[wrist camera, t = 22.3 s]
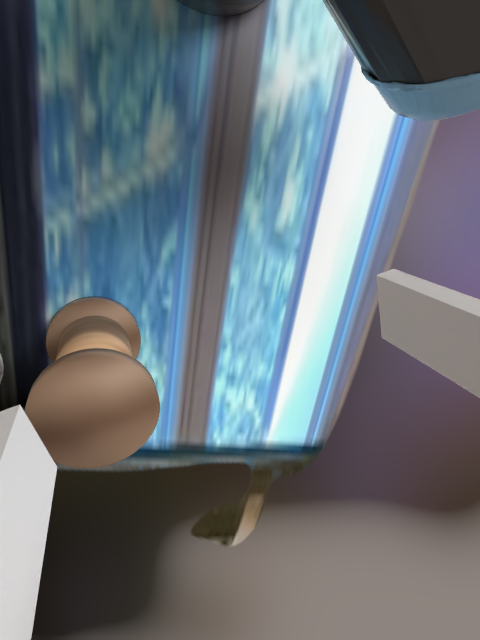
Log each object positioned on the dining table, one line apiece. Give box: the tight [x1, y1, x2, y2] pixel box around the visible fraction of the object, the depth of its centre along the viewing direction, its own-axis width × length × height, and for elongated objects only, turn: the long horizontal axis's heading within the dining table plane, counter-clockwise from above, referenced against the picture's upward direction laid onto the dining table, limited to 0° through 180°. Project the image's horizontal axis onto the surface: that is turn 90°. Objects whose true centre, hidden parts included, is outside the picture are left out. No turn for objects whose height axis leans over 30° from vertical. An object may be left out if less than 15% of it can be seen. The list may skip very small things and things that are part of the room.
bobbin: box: [25, 297, 160, 468], centre depth 35 cm, size 9×9×15 cm
